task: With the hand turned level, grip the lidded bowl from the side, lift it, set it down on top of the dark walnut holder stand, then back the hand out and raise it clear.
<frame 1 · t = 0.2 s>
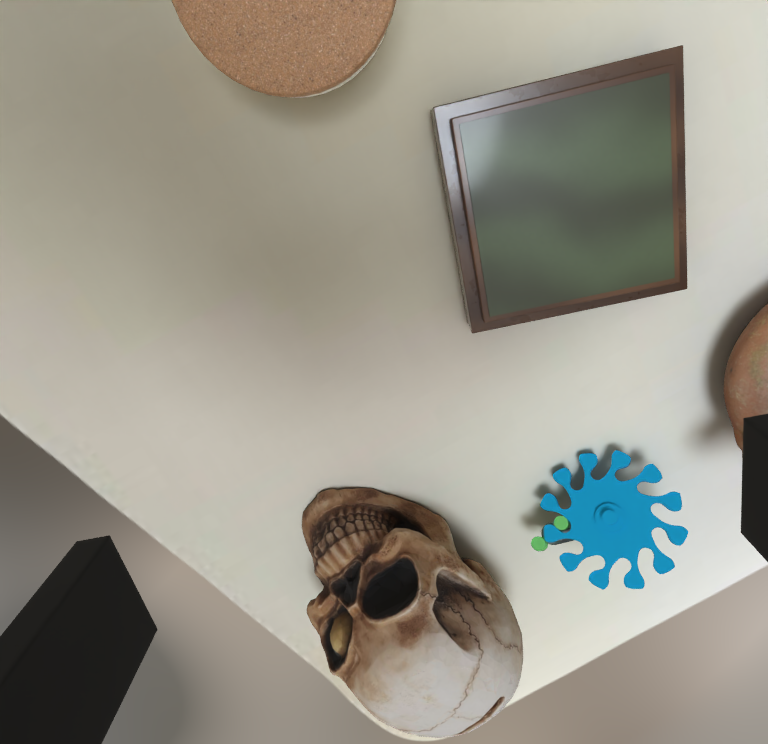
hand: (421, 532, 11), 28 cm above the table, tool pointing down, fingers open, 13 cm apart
gear: (585, 490, 44), on the table
holder: (556, 200, 35), on the table
coin bank: (402, 561, 47), on the table
lidded bowl: (306, 5, 32), on the table
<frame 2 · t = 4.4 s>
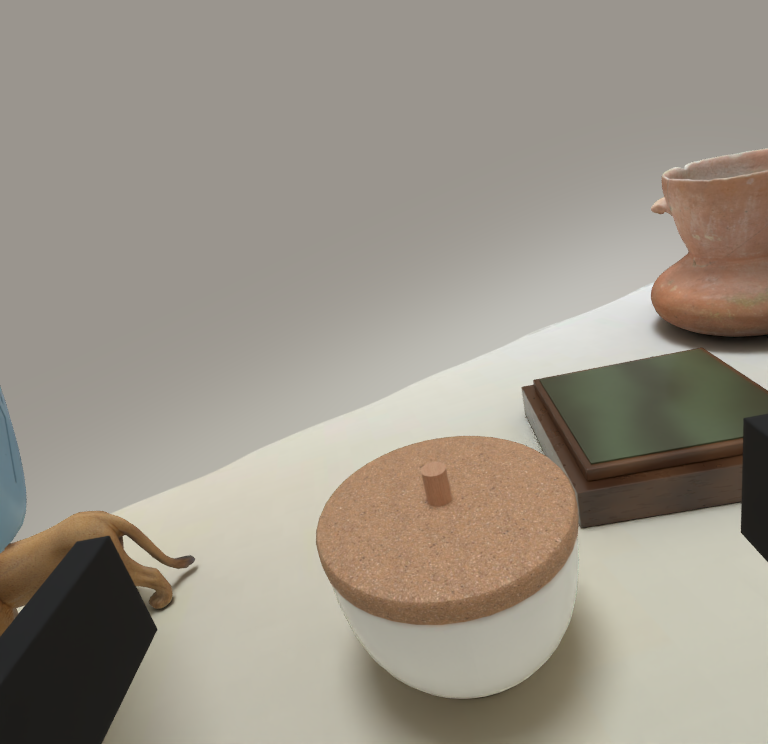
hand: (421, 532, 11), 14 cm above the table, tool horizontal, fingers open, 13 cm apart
holder: (654, 442, 36), on the table
lion figurine: (67, 639, 31), on the table
lidded bowl: (470, 639, 26), on the table
orange-brown waisted vessel: (746, 324, 49), on the table
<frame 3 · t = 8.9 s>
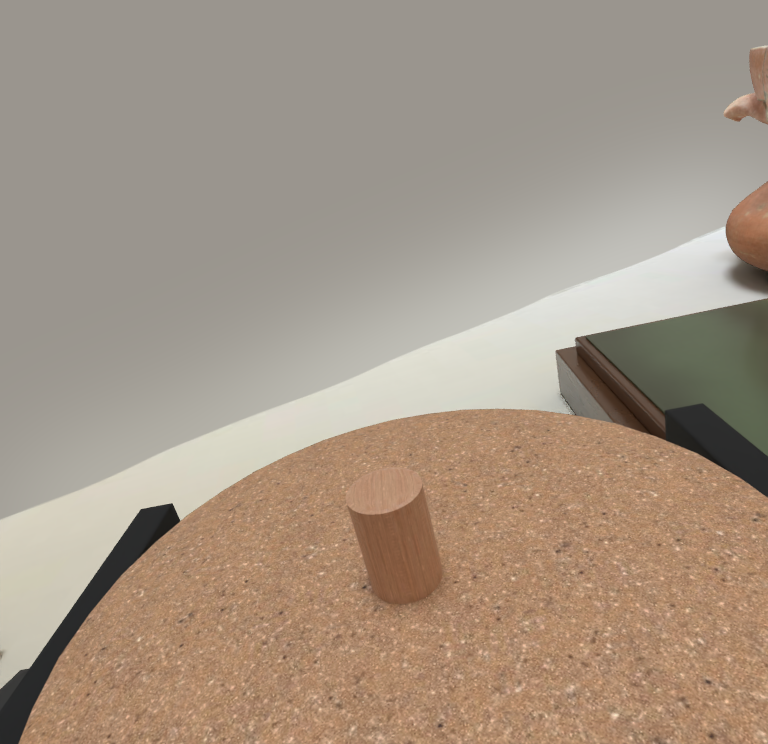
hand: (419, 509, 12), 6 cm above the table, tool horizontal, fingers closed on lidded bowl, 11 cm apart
when the fingers open (9 cm above the table, at t = 17.4 s): lidded bowl stays where it is, resting on holder.
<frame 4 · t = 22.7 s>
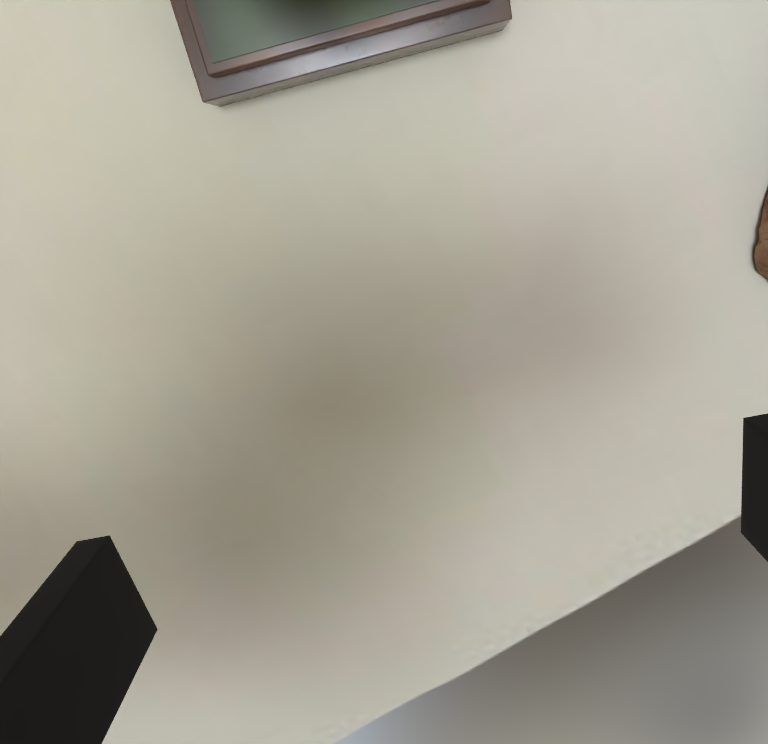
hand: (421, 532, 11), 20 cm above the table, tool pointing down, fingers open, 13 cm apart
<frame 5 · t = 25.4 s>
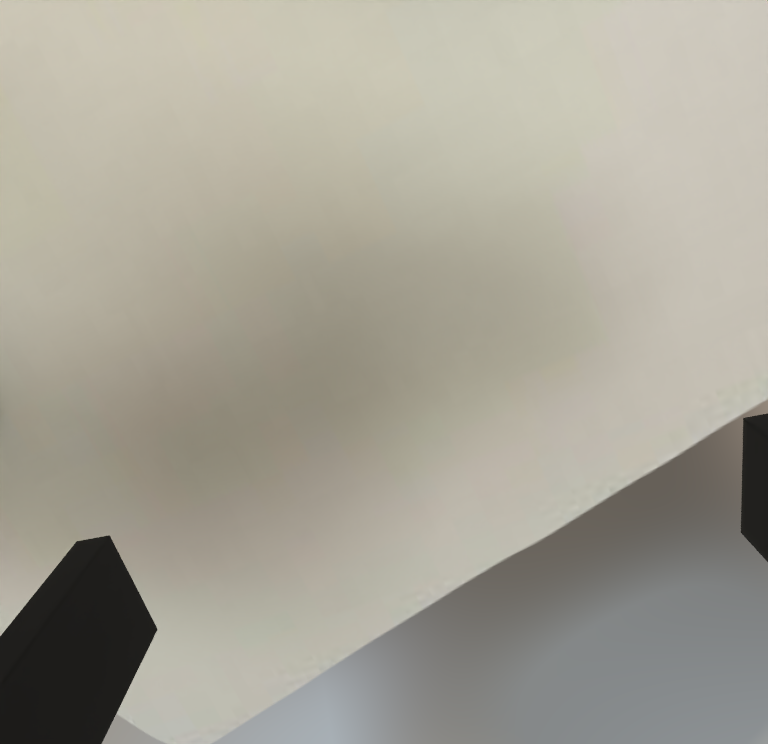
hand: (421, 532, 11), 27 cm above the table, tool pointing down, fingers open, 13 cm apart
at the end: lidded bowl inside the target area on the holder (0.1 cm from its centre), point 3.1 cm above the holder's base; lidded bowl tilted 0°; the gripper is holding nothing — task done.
